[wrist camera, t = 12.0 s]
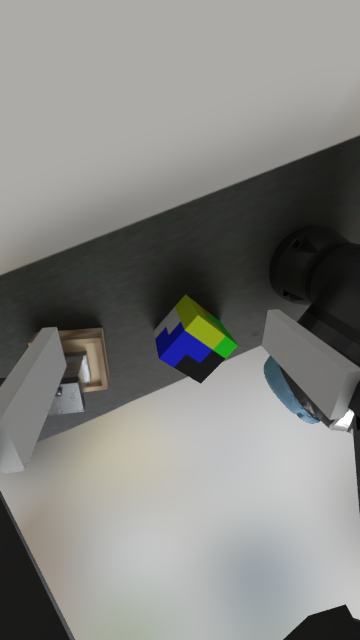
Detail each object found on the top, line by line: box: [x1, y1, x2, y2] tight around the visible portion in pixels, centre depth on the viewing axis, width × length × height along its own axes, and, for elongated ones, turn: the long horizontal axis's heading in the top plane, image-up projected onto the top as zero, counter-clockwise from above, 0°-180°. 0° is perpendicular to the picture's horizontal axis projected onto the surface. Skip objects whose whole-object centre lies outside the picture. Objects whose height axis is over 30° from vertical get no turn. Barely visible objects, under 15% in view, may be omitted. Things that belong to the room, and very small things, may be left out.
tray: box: [28, 328, 109, 392], centre depth 47 cm, size 12×12×4 cm
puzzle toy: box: [154, 294, 238, 383], centre depth 46 cm, size 10×10×10 cm
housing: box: [47, 351, 92, 416], centre depth 42 cm, size 6×6×10 cm
